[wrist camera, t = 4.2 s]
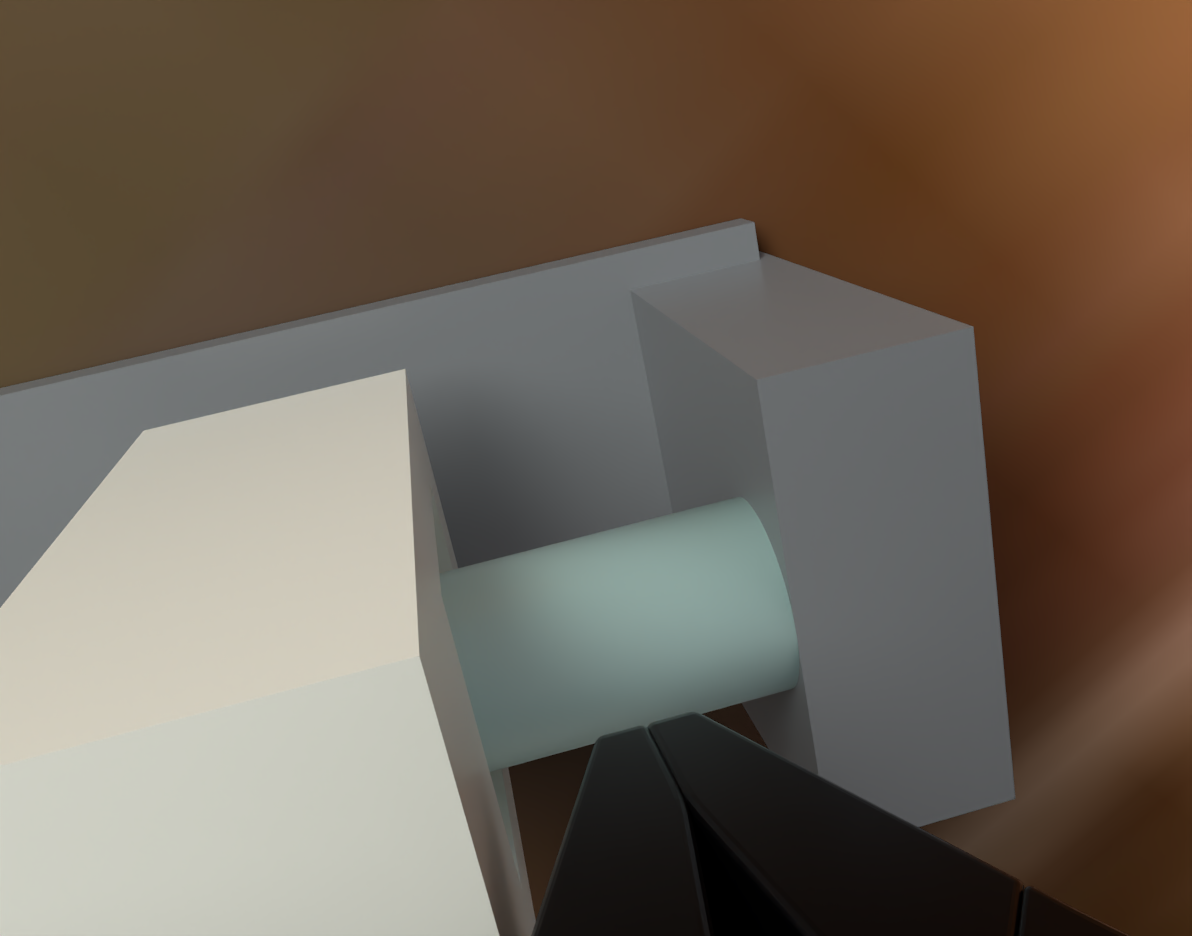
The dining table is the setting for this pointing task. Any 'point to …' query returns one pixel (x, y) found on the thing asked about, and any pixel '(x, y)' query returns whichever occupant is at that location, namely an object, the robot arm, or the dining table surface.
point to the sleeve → (252, 694)
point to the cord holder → (646, 500)
